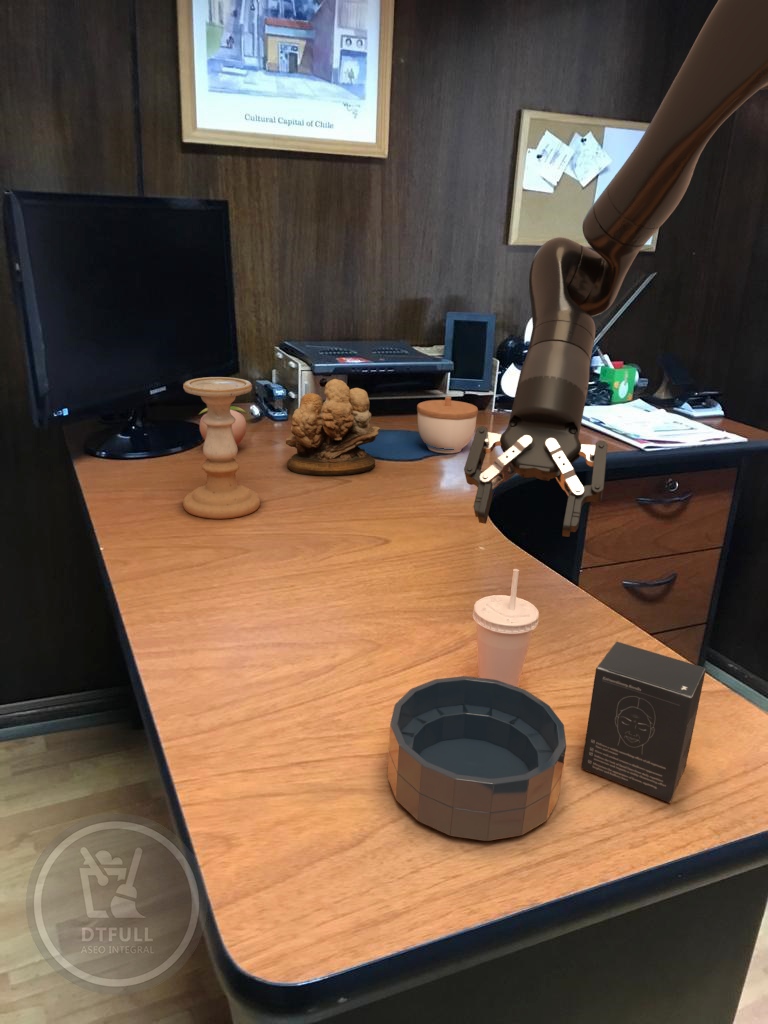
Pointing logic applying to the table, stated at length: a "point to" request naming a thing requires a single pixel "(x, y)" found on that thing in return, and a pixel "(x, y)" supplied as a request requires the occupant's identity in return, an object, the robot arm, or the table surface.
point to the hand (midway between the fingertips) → (523, 526)
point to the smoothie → (504, 634)
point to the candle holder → (220, 453)
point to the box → (642, 719)
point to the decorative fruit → (237, 427)
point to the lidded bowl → (446, 424)
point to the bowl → (475, 757)
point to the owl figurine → (332, 432)
